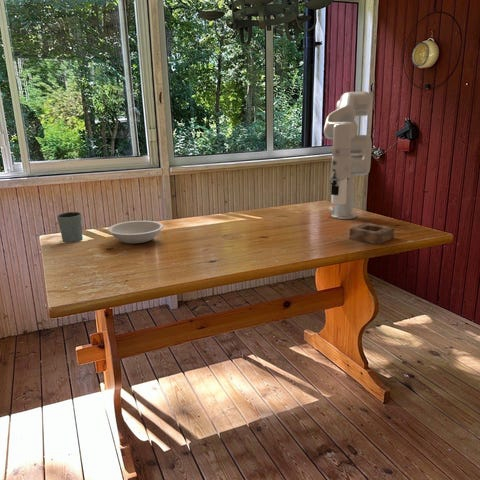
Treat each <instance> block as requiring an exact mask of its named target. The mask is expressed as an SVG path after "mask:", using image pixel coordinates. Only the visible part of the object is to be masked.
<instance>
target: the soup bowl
mask: <svg viewBox="0 0 480 480" xmlns="http://www.w3.org/2000/svg"><path fill="white" fill-rule="evenodd" d="M163 229H164V224H163V223H161V222H158V221H153V220H132V221H129V220H128V221H123V222H118V223H116V224H112V225H111V226H109V227H107V232H108V233H109V234H111V235H112V236H113V237H114V238H115V239H116V240H117V241H120V242H121V243H125V244H133V245H134V244H142V243H147V242H149V241H152V240H154V238H155V237H157V235H158V234H159V233H160V231H161V230H163Z"/></svg>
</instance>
